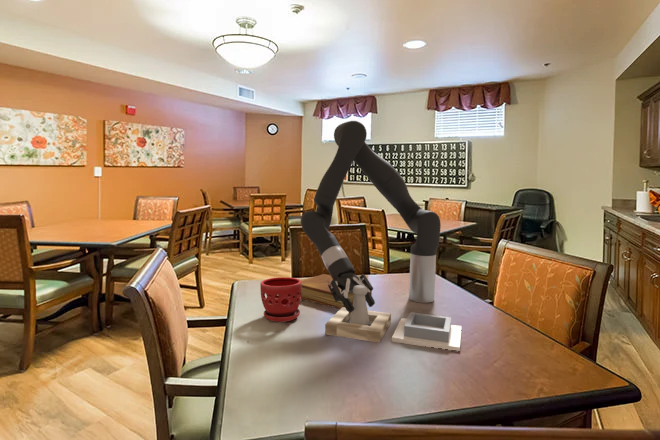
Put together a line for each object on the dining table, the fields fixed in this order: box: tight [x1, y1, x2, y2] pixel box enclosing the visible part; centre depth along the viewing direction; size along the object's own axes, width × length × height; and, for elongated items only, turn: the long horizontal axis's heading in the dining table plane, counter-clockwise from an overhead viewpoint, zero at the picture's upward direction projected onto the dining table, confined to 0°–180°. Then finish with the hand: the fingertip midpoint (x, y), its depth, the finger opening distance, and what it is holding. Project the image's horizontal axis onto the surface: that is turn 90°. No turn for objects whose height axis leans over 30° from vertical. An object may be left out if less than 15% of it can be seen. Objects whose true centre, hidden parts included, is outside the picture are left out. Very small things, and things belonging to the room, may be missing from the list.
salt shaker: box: [349, 285, 370, 326], centre depth 121 cm, size 6×6×13 cm
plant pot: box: [259, 276, 302, 323], centre depth 130 cm, size 13×13×12 cm
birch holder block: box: [324, 307, 392, 343], centre depth 121 cm, size 16×16×3 cm
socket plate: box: [391, 311, 463, 352], centre depth 117 cm, size 16×18×4 cm
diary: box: [301, 273, 373, 310], centre depth 153 cm, size 23×19×6 cm
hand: (362, 308), depth 120 cm, fingers open, 8 cm apart
